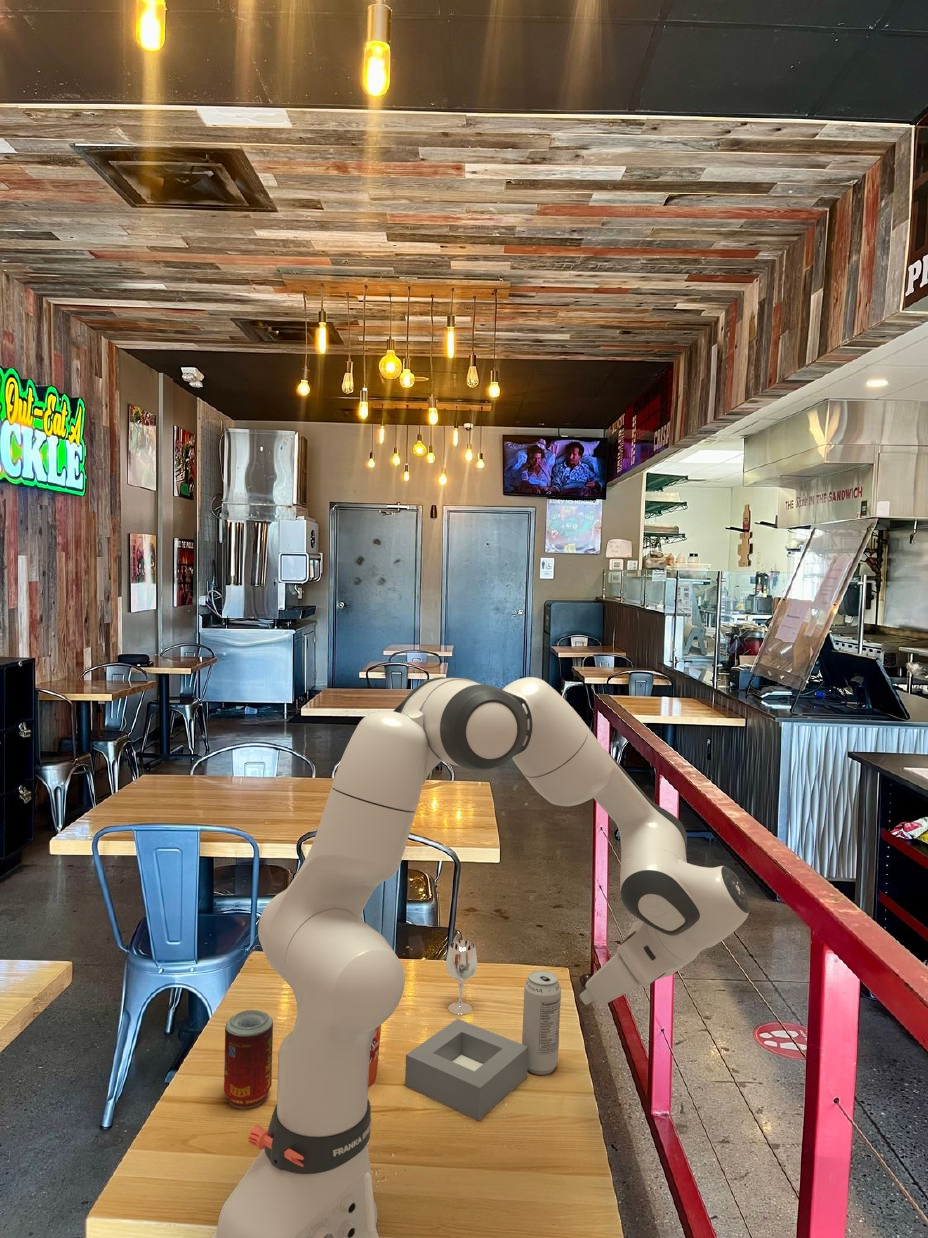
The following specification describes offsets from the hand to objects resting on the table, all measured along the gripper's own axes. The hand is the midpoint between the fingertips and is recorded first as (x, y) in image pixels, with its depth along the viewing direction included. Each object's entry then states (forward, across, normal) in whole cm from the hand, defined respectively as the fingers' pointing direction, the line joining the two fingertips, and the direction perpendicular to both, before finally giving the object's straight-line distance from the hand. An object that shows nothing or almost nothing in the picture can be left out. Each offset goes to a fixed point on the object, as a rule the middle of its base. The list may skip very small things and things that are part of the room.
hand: (597, 987), depth 133 cm
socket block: (+24, +11, 0) cm, 26 cm away
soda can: (+41, +35, -17) cm, 56 cm away
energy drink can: (+19, 0, +5) cm, 19 cm away
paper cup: (+34, +21, -10) cm, 41 cm away
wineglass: (+34, -7, -10) cm, 36 cm away
